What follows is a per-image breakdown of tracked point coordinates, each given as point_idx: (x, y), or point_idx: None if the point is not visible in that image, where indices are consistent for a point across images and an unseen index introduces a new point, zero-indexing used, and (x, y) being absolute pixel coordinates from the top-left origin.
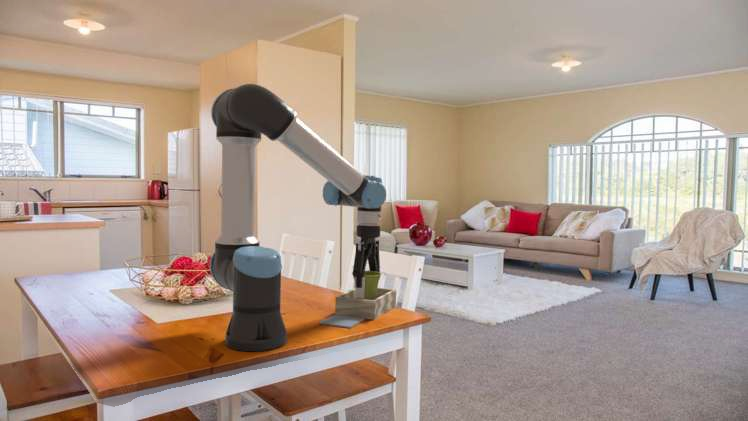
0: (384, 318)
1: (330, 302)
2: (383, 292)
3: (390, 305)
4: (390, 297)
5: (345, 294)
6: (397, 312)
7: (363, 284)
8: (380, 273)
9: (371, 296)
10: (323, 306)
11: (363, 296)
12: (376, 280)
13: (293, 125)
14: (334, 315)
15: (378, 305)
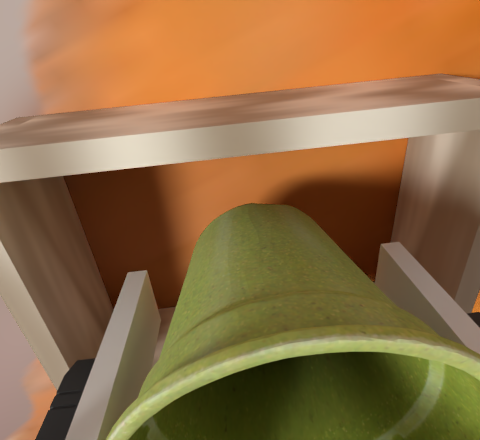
0: (386, 26)
1: None
2: (31, 249)
3: (133, 110)
4: (123, 125)
5: None
6: (176, 14)
7: (476, 326)
8: (200, 386)
9: (312, 225)
10: None
11: (400, 251)
12: (352, 293)
13: None
14: None
15: (422, 91)
